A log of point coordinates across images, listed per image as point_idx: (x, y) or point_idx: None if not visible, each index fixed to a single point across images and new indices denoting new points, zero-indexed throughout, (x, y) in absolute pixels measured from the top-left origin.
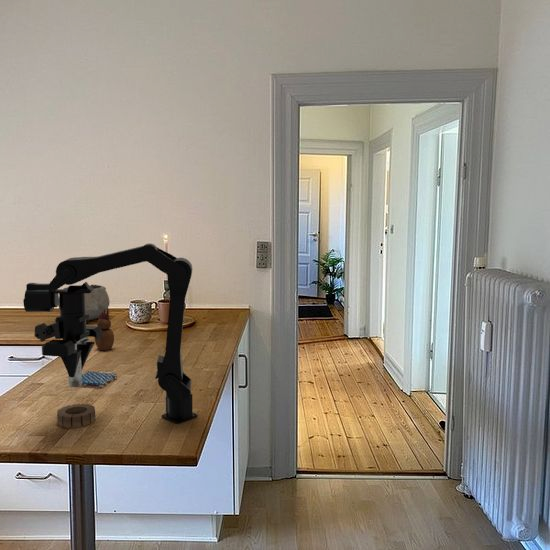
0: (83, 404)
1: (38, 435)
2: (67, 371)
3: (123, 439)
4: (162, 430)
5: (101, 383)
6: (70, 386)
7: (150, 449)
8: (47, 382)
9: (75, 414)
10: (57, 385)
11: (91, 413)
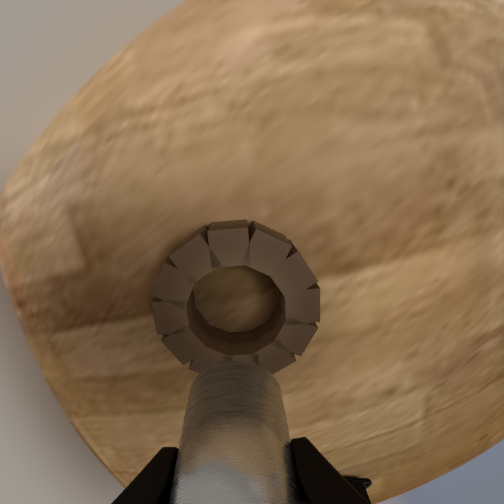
0: (313, 301)
1: (77, 240)
2: (134, 481)
3: None
4: None
5: None
6: (190, 388)
7: None
8: (496, 5)
9: (193, 336)
10: (497, 39)
11: None
